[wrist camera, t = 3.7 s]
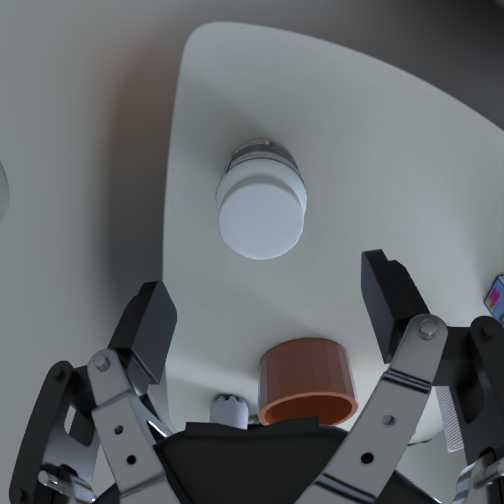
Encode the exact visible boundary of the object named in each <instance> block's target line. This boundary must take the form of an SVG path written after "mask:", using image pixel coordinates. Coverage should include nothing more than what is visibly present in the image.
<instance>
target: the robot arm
mask: <svg viewBox="0 0 504 504" xmlns="http://www.w3.org/2000/svg"><path fill="white" fill-rule="evenodd" d="M361 290H362V295H363V299H364V302H365V305H366V308H367V311H368V314H369V316H370V319H371V322H372V325H373V329H374V332H375V335H376V338H377V341H378V344H379V347H380V351H381V354H382V357H383V361H384V364H387V363H390V365H389V367H388V369H387V371H386V372H384V373H383V374H382V376H381V378H380V380H379V381H378V383H377V385H376V387H375V389H374V391H373V393H372V394H371V396H370V398H369V400H368V402H367V403H366V405H365V407H364V409H363V410H362V412H361V414H360V415H359V417H358V419H357V420H356V422H355V423H354V425H353V427H352V428H351V430H350V431H349V432H348V431H346V430H343V429H341V428H338V427H335V426H330V425H325V424H319V418H318V416H315V417H307V418H298V419H288V420H282V421H279V422H276V423H273V424H269V425H266V426H262V427H259V428H255V429H251V430H247V429H241V428H237V427H232V426H228V425H224V424H219V423H199V422H186V427H185V431H181V432H178V433H175V434H173V433H172V432H171V431H170V429H169V428H168V426H167V425H166V423H165V422H164V420H163V418H162V416H161V414H160V413H159V411H158V408H157V407H156V405H155V403H154V401H153V399H152V397H151V395H150V393H149V392H148V391H147V388H148V385H149V384H159V383H160V380H161V376H162V372H163V368H164V365H165V361H166V357H167V354H168V350H169V347H170V343H171V339H172V336H173V332H174V329H175V326H176V322H177V311H176V308H175V306H174V304H173V302H172V300H171V298H170V295H169V293H168V291H167V289H166V287H165V285H164V283H163V282H162V281H155V282H147V283H144V284H143V285H142V287H141V289H140V291H139V293H138V295H137V296H134V297H133V299H132V300H131V301H130V302H129V303H128V304H127V306H126V308H125V310H124V312H123V315H122V316H121V319H120V323H118V325H117V327H116V329H115V332H114V334H113V336H112V338H111V341H110V343H109V345H108V348H107V349H103V350H100V351H98V352H97V353H95V354H94V355H93V356H92V357H91V359H90V360H89V363H88V365H86V366H82V367H78V368H74V367H73V366H72V365H71V364H70V363H69V362H68V361H60V362H57V363H56V364H55V365H53V366H52V367H51V369H50V370H49V372H48V374H47V376H46V379H45V381H44V383H43V385H42V388H41V390H40V393H39V396H38V398H37V401H36V403H35V406H34V408H33V412H32V414H31V417H30V420H29V422H28V425H27V428H26V431H25V434H24V437H23V440H22V443H21V447H20V450H19V453H18V457H17V460H16V464H15V468H14V472H13V476H12V480H11V484H10V488H9V499H10V502H11V504H441V503H440V502H438V501H437V500H436V499H434V498H433V497H432V496H430V495H429V494H428V493H426V492H425V491H424V490H422V489H421V488H420V487H418V486H417V485H416V484H414V483H413V482H412V481H410V480H409V479H408V478H406V477H405V476H404V475H402V474H401V473H400V472H399V471H398V470H396V469H395V468H396V466H397V464H398V462H399V460H400V459H401V457H402V455H403V453H404V451H405V449H406V447H407V445H408V443H409V441H410V439H411V437H412V435H413V433H414V431H415V428H416V426H417V424H418V422H419V420H420V417H421V415H422V413H423V410H424V408H425V405H426V403H427V400H428V398H429V395H430V392H431V389H432V387H431V386H448V387H449V390H450V393H451V397H452V400H453V404H454V408H455V411H456V415H457V419H458V423H459V428H460V432H461V436H462V441H463V446H464V451H465V456H466V461H467V467H466V468H465V469H464V470H463V471H462V472H461V474H460V475H459V477H458V480H457V484H456V494H455V498H454V500H453V502H452V503H451V504H504V328H503V326H502V325H501V323H500V322H499V321H498V320H496V319H495V318H493V317H490V316H480V317H477V318H475V319H474V320H473V322H472V323H471V325H470V327H450V326H446V324H445V323H444V321H443V320H442V319H440V318H439V317H437V316H435V315H432V314H430V312H429V310H428V308H427V306H426V304H425V302H424V300H423V298H422V296H421V295H420V293H419V291H418V289H417V287H416V286H415V284H414V282H413V280H412V278H410V275H409V273H408V271H407V270H406V268H405V267H404V266H403V265H402V264H400V263H399V262H398V261H396V260H391V261H388V260H387V258H386V256H385V254H384V252H383V251H382V250H381V249H377V250H371V251H365V252H362V261H361ZM70 405H71V406H72V407H73V408H74V409H75V410H76V412H75V415H74V419H73V422H72V425H71V429H70V432H69V435H68V434H67V433H66V431H65V428H64V422H65V419H66V416H67V412H68V409H69V406H70ZM100 442H101V445H102V448H103V451H104V454H105V456H106V459H107V462H108V464H109V467H110V469H111V472H112V474H113V476H114V479H115V481H116V482H115V483H114V484H113V485H112V486H111V487H110V488H108V489H107V490H106V491H105V492H104V493H102V494H101V495H100V496H99V497H98V498H97V496H96V495H95V494H93V490H92V488H91V483H92V478H93V472H94V468H95V463H96V457H97V453H98V449H99V444H100Z"/></svg>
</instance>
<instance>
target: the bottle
mask: <svg viewBox="0 0 504 504" xmlns="http://www.w3.org/2000/svg"><path fill="white" fill-rule="evenodd" d="M210 423H219V424H224V425H228V426H232V427H237V428H241V429H247V424H248V408H247V405H246V403H245V401H244V400H243V399H239V400H238V402H237V401H236V398H235V397H234V396H230V399H229V400H225V397H224V396H221V397H219V398H218V399H216V400H215V401H213V403H212V406H211V410H210Z"/></svg>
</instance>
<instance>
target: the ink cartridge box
mask: <svg viewBox="0 0 504 504" xmlns="http://www.w3.org/2000/svg"><path fill="white" fill-rule="evenodd" d="M484 304H485V305H486V307H487V309H488V310H489V312H490V313H491V315H492V317H493V318H495V319H496V320H498V321H499V322H500V323H501V325H502V326H503V328H504V276H498V277H497V280H496V282H495V284H494V285H493V287H492V289H491V291H490V293H489V295H488V296H487V298H486V300H485V302H484Z"/></svg>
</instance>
